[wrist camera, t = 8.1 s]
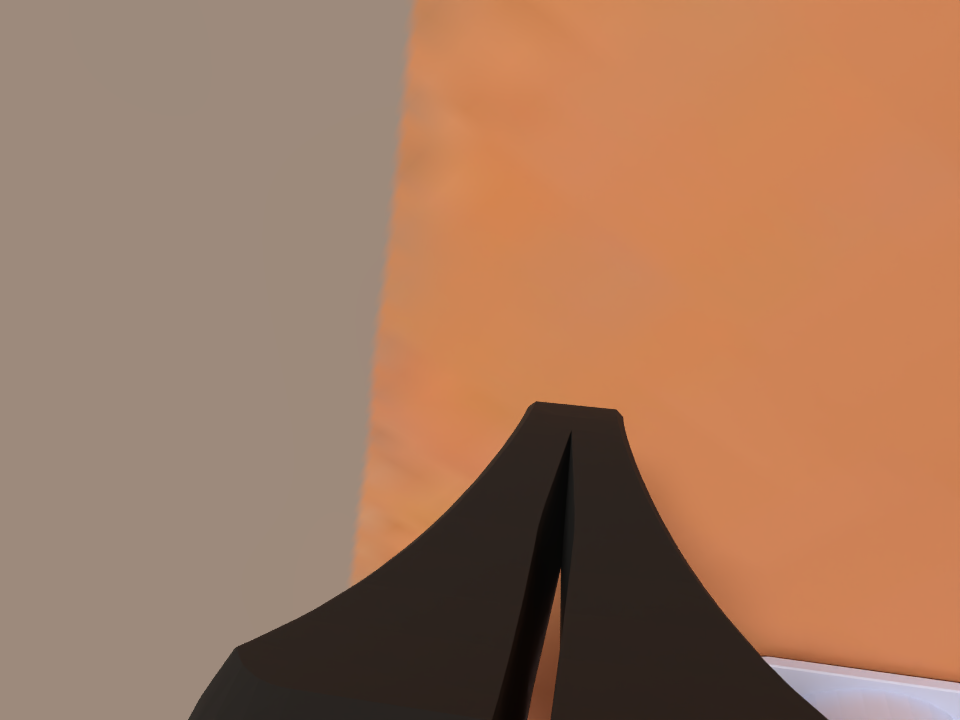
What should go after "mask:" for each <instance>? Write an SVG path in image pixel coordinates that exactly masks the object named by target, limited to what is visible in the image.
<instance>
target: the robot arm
mask: <svg viewBox="0 0 960 720" xmlns="http://www.w3.org/2000/svg"><path fill="white" fill-rule="evenodd" d="M560 569H561V612H560V654H559V662H558V669H557V677H556V684H555V692H554V699H553V707H552V714H551V720H960V683H956V682H949V681H941V680H934V679H927V678H920V677H912V676H905V675H898V674H891V673H884V672H876V671H869V670H862V669H855V668H848V667H840V666H833V665H826V664H819V663H812V662H804V661H797V660H790V659H783V658H776V657H761V656H760V654H759V653H758V652H757V651H756V650H755V649H754V648H753V646H752V645H751V644H750V643H749V642H748V641H747V640H746V638H745V637H744V636H743V635H742V634H741V633H740V632H739V630H738V629H737V628H736V627H735V626H734V625H733V623H732V622H731V621H730V620H729V619H728V618H727V617H726V615H725V614H724V613H723V612H722V610H721V609H720V608H719V606H718V605H717V604H716V602H715V601H714V600H713V598H712V597H711V596H710V594H709V593H708V592H707V590H706V589H705V588H704V586H703V585H702V583H701V582H700V581H699V579H698V578H697V576H696V575H695V573H694V572H693V570H692V569H691V567H690V566H689V565H688V563H687V561H686V560H685V558H684V557H683V555H682V554H681V552H680V550H679V549H678V547H677V545H676V544H675V542H674V540H673V539H672V537H671V535H670V533H669V531H668V530H667V528H666V526H665V524H664V522H663V521H662V519H661V517H660V515H659V513H658V511H657V509H656V507H655V505H654V503H653V501H652V499H651V497H650V495H649V492H648V490H647V488H646V486H645V484H644V481H643V479H642V477H641V475H640V472H639V470H638V467H637V465H636V462H635V460H634V457H633V454H632V451H631V449H630V445H629V442H628V439H627V435H626V432H625V427H624V422H623V416H622V415H621V414H620V413H619V412H618V411H617V410H616V409H606V408H596V407H586V406H576V405H567V404H557V403H547V402H537V401H536V402H535V403H533V404H532V405H530V406H529V407H528V409H527V411H526V412H525V414H524V416H523V418H522V419H521V421H520V423H519V424H518V426H517V427H516V429H515V430H514V432H513V433H512V435H511V436H510V438H509V439H508V440H507V442H506V443H505V444H504V446H503V447H502V449H501V450H500V451H499V452H498V454H497V455H496V456H495V457H494V459H493V460H492V461H491V462H490V464H489V465H488V466H487V467H486V469H485V470H484V471H483V472H482V473H481V475H480V476H479V477H478V478H477V479H476V480H475V482H474V483H473V484H472V485H471V486H470V487H469V488H468V489H467V490H466V491H465V492H464V493H463V494H462V495H461V497H460V498H459V499H458V500H457V501H456V502H455V503H454V504H453V505H452V506H451V507H450V508H449V509H448V510H447V511H446V512H445V513H444V514H443V515H442V516H441V517H440V518H439V519H438V520H437V521H436V522H435V523H434V524H433V525H431V526H430V527H429V528H428V529H427V530H426V531H425V532H424V533H423V534H421V535H420V536H419V537H418V538H417V539H416V540H414V541H413V542H412V543H411V544H410V545H408V546H407V547H406V548H405V549H403V550H402V551H401V552H400V553H398V554H397V555H396V556H394V557H393V558H392V559H390V560H389V561H388V562H387V563H385V564H384V565H383V566H381V567H380V568H379V569H377V570H376V571H374V572H373V573H372V574H370V575H369V576H367V577H366V578H365V579H363V580H362V581H360V582H359V583H357V584H356V585H354V586H352V587H351V588H349V589H347V590H346V591H344V592H342V593H341V594H339V595H338V596H336V597H334V598H333V599H331V600H329V601H328V602H326V603H325V604H323V605H321V606H320V607H318V608H316V609H314V610H313V611H311V612H309V613H307V614H305V615H303V616H301V617H299V618H298V619H296V620H293V621H291V622H289V623H287V624H285V625H283V626H281V627H279V628H277V629H275V630H272V631H270V632H268V633H266V634H264V635H262V636H260V637H258V638H256V639H254V640H251V641H249V642H247V643H244V644H242V645H240V646H238V647H236V648H235V649H234V650H233V652H232V653H231V654H230V656H229V657H228V659H227V660H226V661H225V663H224V664H223V666H222V667H221V669H220V670H219V672H218V673H217V674H216V676H215V677H214V678H213V680H212V681H211V683H210V684H209V686H208V687H207V689H206V690H205V691H204V693H203V694H202V696H201V698H200V699H199V701H198V703H197V704H196V706H195V708H194V710H193V712H192V714H191V716H190V717H189V719H188V720H527V718H528V713H529V707H530V702H531V696H532V691H533V687H534V682H535V678H536V674H537V669H538V665H539V661H540V656H541V652H542V648H543V643H544V639H545V635H546V630H547V626H548V622H549V617H550V613H551V609H552V604H553V600H554V596H555V591H556V587H557V582H558V578H559V574H560Z"/></svg>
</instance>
